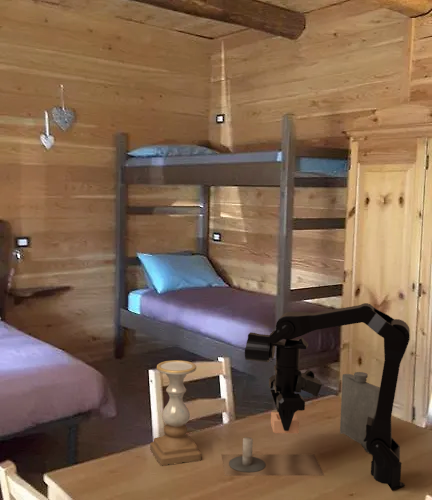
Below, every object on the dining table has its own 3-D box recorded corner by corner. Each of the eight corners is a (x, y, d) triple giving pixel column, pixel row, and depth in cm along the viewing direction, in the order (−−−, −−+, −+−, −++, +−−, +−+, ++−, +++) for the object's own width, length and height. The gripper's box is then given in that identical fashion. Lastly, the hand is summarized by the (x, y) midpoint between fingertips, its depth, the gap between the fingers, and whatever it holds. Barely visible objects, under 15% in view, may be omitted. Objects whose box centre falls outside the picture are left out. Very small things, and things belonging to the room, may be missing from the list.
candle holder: (149, 449, 176) (150, 361, 173) (188, 444, 180) (190, 358, 177) (160, 466, 166) (161, 373, 163) (202, 460, 170) (203, 369, 167)
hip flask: (383, 453, 176) (386, 380, 174) (370, 456, 174) (374, 382, 172) (346, 432, 190) (349, 364, 188) (335, 434, 189) (337, 366, 187)
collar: (294, 424, 167) (294, 412, 167) (298, 433, 161) (299, 421, 161) (270, 423, 167) (271, 412, 166) (273, 433, 161) (274, 421, 160)
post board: (314, 459, 171) (315, 430, 171) (324, 481, 160) (325, 449, 159) (221, 460, 170) (222, 429, 169) (224, 481, 158) (225, 449, 157)
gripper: (328, 376, 153) (324, 441, 155) (312, 354, 172) (309, 412, 174) (280, 375, 153) (277, 440, 154) (270, 353, 171) (267, 412, 173)
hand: (284, 425), depth 164 cm, fingers closed on collar, 6 cm apart
